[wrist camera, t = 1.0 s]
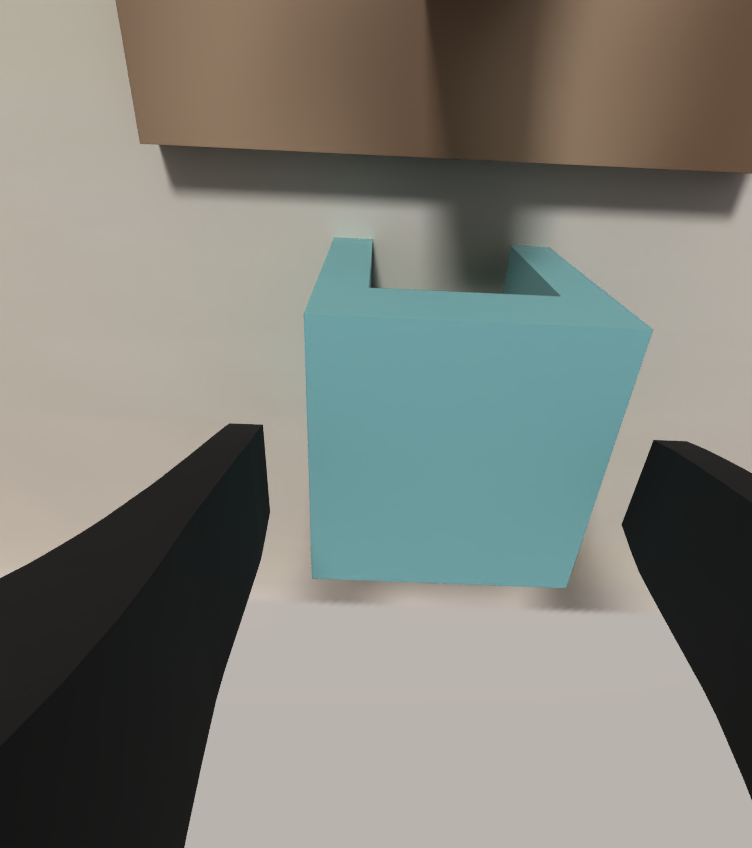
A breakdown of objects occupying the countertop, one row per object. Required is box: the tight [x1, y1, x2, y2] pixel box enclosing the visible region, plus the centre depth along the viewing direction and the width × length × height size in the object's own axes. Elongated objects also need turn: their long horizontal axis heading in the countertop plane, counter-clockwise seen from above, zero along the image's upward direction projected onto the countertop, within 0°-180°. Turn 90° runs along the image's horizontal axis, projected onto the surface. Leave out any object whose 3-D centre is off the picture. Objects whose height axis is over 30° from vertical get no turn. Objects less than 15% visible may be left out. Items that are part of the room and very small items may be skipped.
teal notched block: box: [304, 237, 653, 588], centre depth 12 cm, size 6×6×6 cm
